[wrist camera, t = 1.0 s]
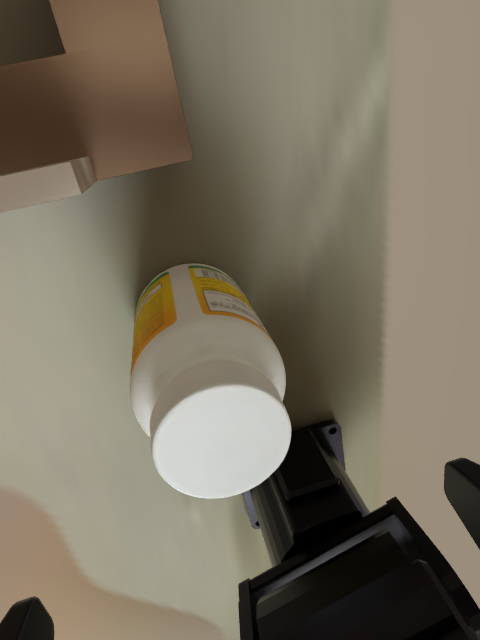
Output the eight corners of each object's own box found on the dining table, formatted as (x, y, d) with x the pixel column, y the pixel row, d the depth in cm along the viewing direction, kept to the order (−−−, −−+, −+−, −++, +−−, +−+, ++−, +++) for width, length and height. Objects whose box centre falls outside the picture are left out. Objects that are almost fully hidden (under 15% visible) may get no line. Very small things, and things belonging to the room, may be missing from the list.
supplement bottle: (233, 248, 19) (306, 336, 11) (253, 346, 21) (326, 484, 13) (118, 277, 19) (97, 394, 10) (151, 375, 21) (158, 539, 12)
